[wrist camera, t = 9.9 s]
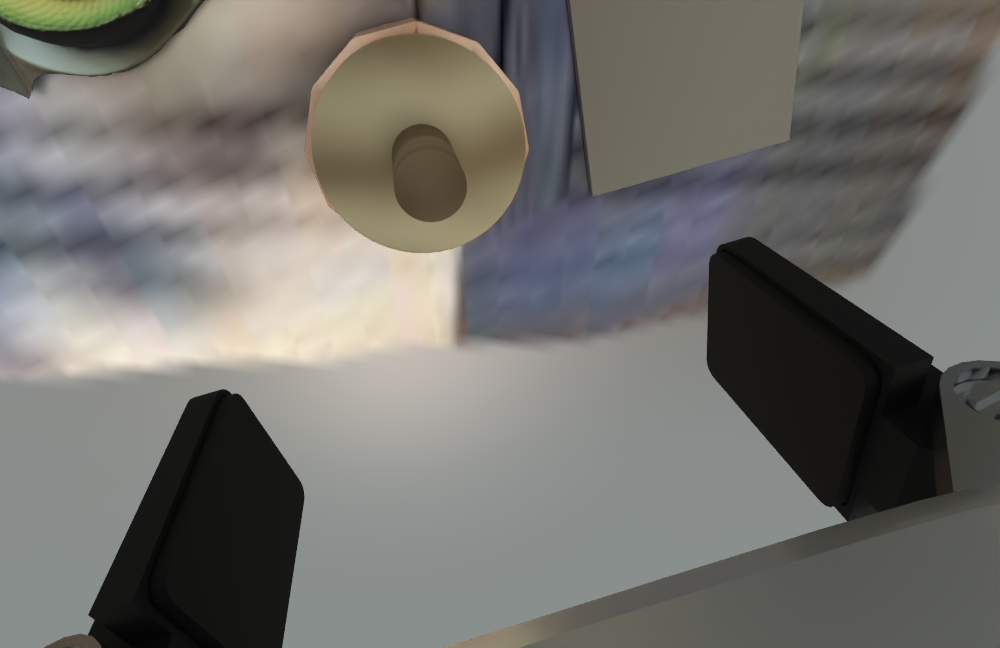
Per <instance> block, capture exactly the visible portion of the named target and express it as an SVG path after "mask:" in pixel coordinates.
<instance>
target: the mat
mask: <svg viewBox="0 0 1000 648" xmlns="http://www.w3.org/2000/svg"><path fill="white" fill-rule="evenodd" d="M566 1H567V9H568V17H569V25H570V34H571V42H572V50H573V59H574V67H575V75H576V83H577V92H578V100H579V108H580V117H581V125H582V133H583V141H584V150H585V158H586V166H587V174H588V183H589V191H590V194H591V195H592V196H593V197H594V196H597V195H601V194H604V193H608V192H611V191H614V190H618V189H621V188H625V187H628V186H632V185H635V184H639V183H642V182H646V181H649V180H653V179H656V178H660V177H663V176H667V175H670V174H674V173H677V172H681V171H684V170H688V169H691V168H695V167H698V166H702V165H705V164H709V163H712V162H716V161H719V160H722V159H726V158H729V157H733V156H736V155H740V154H743V153H747V152H750V151H754V150H757V149H761V148H764V147H768V146H771V145H775V144H778V143H782V142H785V141H789V138H790V128H791V119H792V109H793V100H794V90H795V81H796V71H797V62H798V52H799V43H800V33H801V24H802V14H803V5H804V0H566Z"/></svg>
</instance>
